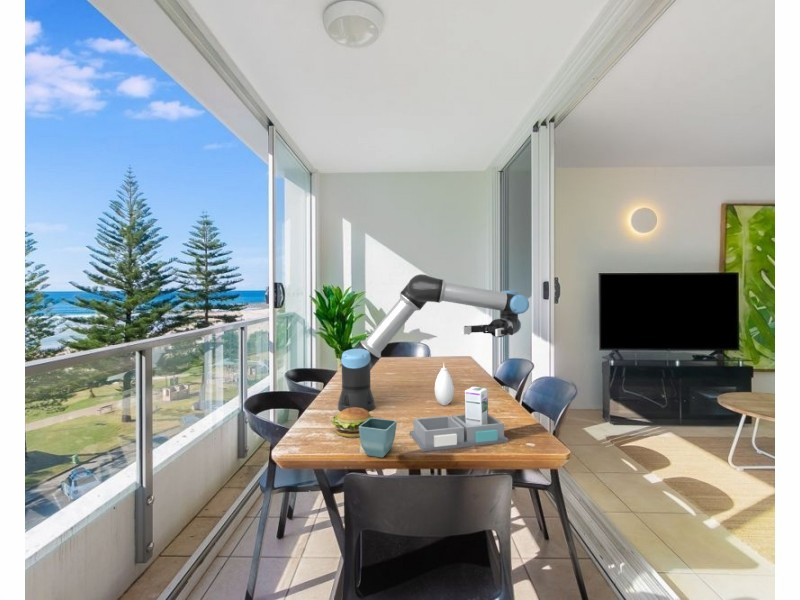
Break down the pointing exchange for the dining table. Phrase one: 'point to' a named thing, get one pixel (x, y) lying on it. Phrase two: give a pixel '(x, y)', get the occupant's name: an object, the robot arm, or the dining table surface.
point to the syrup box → (476, 406)
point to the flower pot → (377, 436)
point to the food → (350, 421)
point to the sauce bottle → (444, 387)
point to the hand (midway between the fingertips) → (479, 332)
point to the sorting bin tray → (455, 432)
